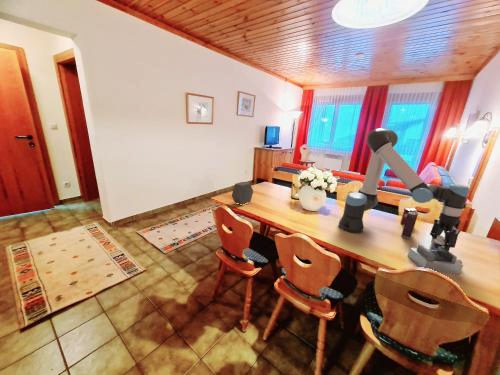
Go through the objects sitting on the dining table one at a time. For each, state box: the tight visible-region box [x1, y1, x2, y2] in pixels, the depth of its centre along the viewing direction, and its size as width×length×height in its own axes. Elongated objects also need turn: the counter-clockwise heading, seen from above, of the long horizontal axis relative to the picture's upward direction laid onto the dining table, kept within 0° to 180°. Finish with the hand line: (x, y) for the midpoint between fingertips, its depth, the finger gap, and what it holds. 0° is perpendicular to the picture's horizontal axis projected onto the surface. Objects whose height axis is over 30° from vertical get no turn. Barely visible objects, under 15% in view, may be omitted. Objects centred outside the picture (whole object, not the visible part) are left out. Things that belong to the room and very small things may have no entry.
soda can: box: [400, 207, 418, 226], centre depth 146 cm, size 7×7×12 cm
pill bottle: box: [430, 235, 445, 250], centre depth 112 cm, size 5×5×10 cm
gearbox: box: [407, 244, 464, 275], centre depth 102 cm, size 20×12×8 cm, turn 85°
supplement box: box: [400, 210, 419, 240], centre depth 129 cm, size 9×5×16 cm, turn 137°
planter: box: [231, 181, 254, 206], centre depth 171 cm, size 17×8×21 cm
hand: (437, 252), depth 113 cm, fingers open, 6 cm apart
